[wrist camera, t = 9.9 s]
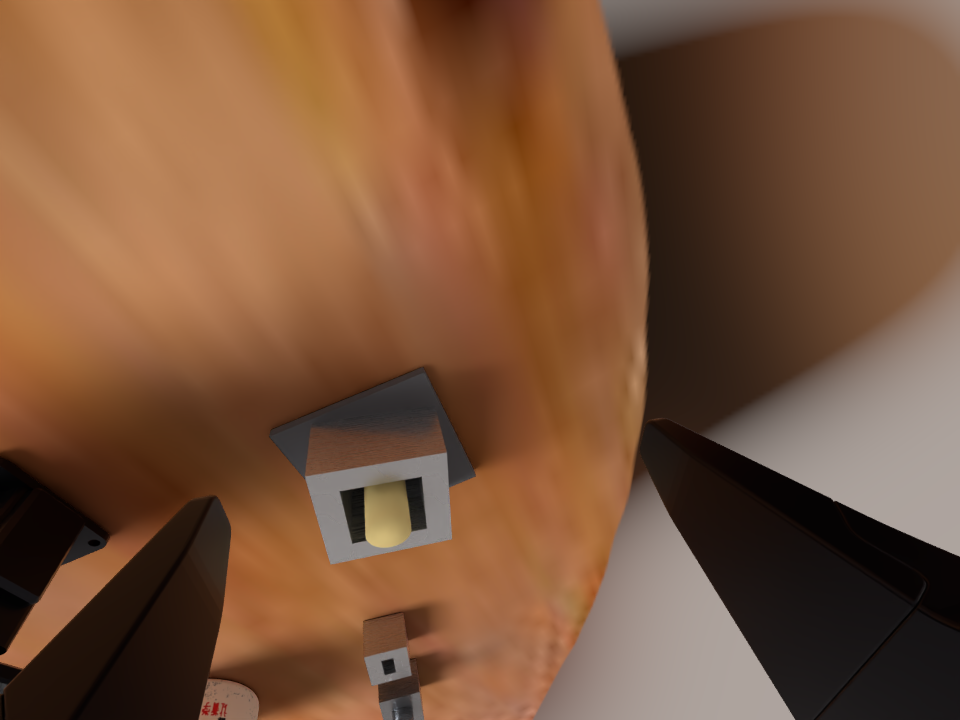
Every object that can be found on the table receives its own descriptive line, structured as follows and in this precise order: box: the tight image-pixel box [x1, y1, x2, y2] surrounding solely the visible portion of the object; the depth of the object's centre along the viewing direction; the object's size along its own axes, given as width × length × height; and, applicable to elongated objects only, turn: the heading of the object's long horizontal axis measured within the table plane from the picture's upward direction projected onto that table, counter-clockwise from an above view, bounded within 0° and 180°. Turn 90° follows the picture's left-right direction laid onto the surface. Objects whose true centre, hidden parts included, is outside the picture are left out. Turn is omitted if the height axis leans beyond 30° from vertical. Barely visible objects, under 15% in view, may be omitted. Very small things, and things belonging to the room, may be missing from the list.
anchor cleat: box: [378, 658, 424, 720], centre depth 35 cm, size 5×3×5 cm, turn 1°
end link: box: [305, 406, 452, 564], centre depth 22 cm, size 6×6×4 cm
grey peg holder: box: [269, 367, 476, 548], centre depth 22 cm, size 8×8×5 cm
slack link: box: [363, 612, 412, 686], centre depth 32 cm, size 4×3×2 cm
